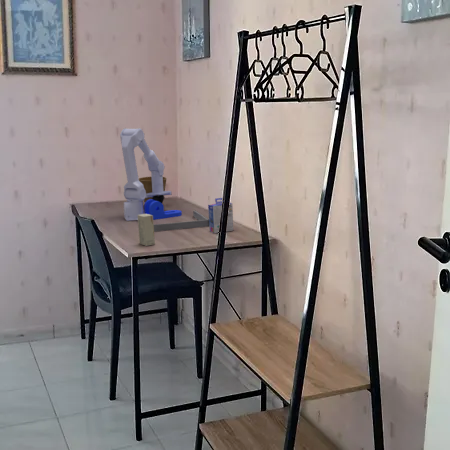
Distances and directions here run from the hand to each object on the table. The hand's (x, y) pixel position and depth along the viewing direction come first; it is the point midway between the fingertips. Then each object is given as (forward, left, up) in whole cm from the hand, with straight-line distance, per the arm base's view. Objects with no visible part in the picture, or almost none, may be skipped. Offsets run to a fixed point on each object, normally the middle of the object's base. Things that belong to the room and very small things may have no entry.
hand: (158, 210), depth 326 cm
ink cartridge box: (+16, -58, -1) cm, 60 cm away
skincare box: (-19, -68, -1) cm, 71 cm away
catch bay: (0, -33, -1) cm, 33 cm away
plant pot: (0, +13, -1) cm, 13 cm away
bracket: (0, -14, -1) cm, 14 cm away
